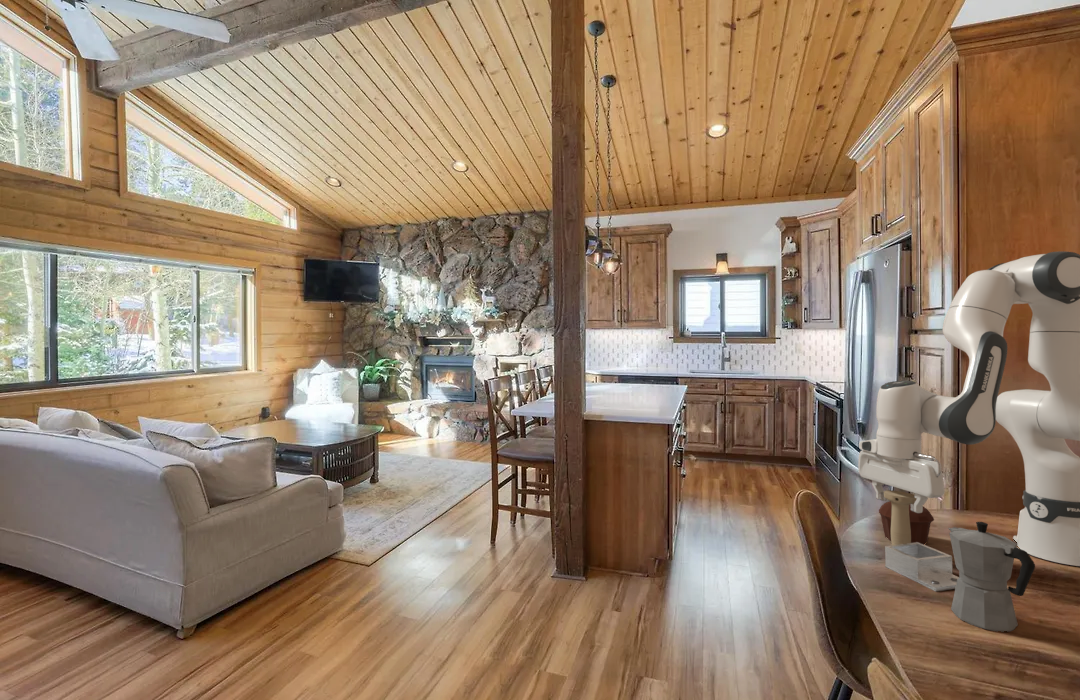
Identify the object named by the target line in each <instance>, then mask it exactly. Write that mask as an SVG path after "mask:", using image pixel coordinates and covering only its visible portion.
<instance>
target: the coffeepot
mask: <svg viewBox="0 0 1080 700" xmlns="http://www.w3.org/2000/svg"><path fill="white" fill-rule="evenodd" d="M975 524H976V528H977V530H975V529H966V528H963V527H957V526H953V527H948V528H947V529H948V531H950V532H949V538H950V544H951V547H952V553H953V558H954V564H955V568H956V569H957V570H958V571H959V572H958V573H959V574H958V575H959V576H958V577H959V578H958V579H957V583H956V588H955V589H954V594H953V599H952V604H951V608H950V609H951V611H952V612H953V614H954V616H956V617H957V618H958V619H959V618H960V619H959V620H961V621H963V622H964V621H965V623H966V622H967V624H969V625H970V626H973V625H974V626H973V627H977V628H980V629H983V630H988V631H991V632H992V631H993V632H998V631H1001V633H1005V632H1004V631H1007V632H1006V633H1008V632H1013V631H1014V630H1015V629H1016V627H1018V626H1019V625H1018V624H1019V623H1018V620H1017V615H1016V612H1015V607H1014V602H1013V600H1012V599H1013V598H1012V594H1013V595H1015V596H1018V597H1022V596H1024V595H1025V592H1026V589H1027V588H1028V586H1029V582H1030V581H1031V577H1032V575H1033V573H1034V571H1035V569H1036V564H1035V562H1034V560H1033V558H1031V555H1030V554H1028V553H1027V552H1026V551H1024V550H1021V549H1019V548H1018V547H1017V543H1016V542H1015V541H1014V540H1013V541H1012V540H1011V539H1009V538H1008V537H1006V536H1004V535H999V534H995V533H992V532H988V530H987V529H988V525H989V524H988V523H987V522H984V521H976V522H975ZM1015 559H1016V560H1019V561H1020V563H1021V566H1020V569H1019V575H1018V577H1017V578H1016V582H1015V583H1016V585H1015V586H1016V587H1012V586H1008V581H1009V580H1010V579H1011V578H1012V572H1013V567H1014V562H1015ZM1011 593H1012V594H1011Z"/></svg>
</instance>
